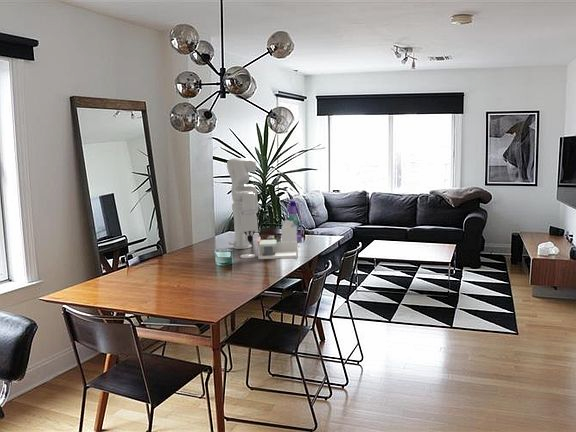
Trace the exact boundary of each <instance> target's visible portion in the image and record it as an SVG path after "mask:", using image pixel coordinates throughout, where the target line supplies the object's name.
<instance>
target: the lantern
mask: <svg viewBox="0 0 576 432" xmlns="http://www.w3.org/2000/svg"><path fill="white" fill-rule="evenodd" d="M288 201H289V203H287V205H286V214H285V220H287V221H293V223H294V224H295V225H296V227H297V243H300V242H302V240H303V235H302V234H303V224H302V216H301V213H300V206H299V203H298V202H297V199H294V198H291V199H289V200H288ZM297 214H298V215H297ZM299 227H300V233H299V232H298V231H299Z"/></svg>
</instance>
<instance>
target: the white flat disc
mask: <svg viewBox="0 0 576 432" xmlns="http://www.w3.org/2000/svg"><path fill="white" fill-rule="evenodd" d="M254 258H256V254H254V253H253V254H252V253H244V254H241V255H240V259H245V260H247V259H254Z"/></svg>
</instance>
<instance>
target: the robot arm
mask: <svg viewBox="0 0 576 432" xmlns="http://www.w3.org/2000/svg"><path fill="white" fill-rule="evenodd" d="M226 170H227V172H228V174H229V177H230V179H231V189H230V190H231V193H230V194H231V197H232V198H231V199H232V202H233V203H232V204H231V209H232V215H233V225H234V241H228V245H229V246H232V248H233V249H237V250H244V249H251V248H252V246H253V245H252V244H250V243H253V240H254V239H253V237H254V235H255V233H256V234H257V233H259V224H258V216H257V214H258V213H259V202H258V201H259V200H258V192H257V191H258V190H257V188H256V185H254V184H248V183H249V181H250V174H249V173H255V172H256V170H257V163H256V161H255V159H253V158H252V157H243V158H242V157H239V158H238V157H237V158H230V159H228V160H227V162H226Z"/></svg>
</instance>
